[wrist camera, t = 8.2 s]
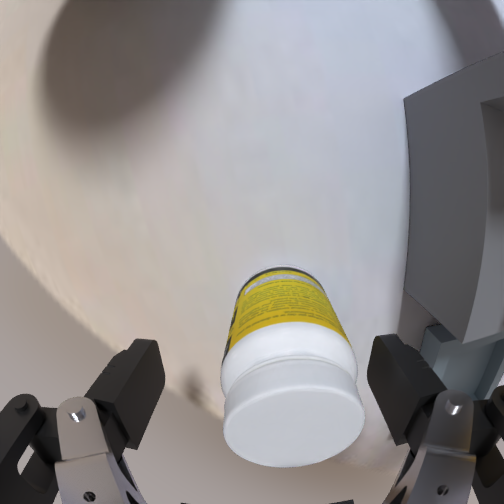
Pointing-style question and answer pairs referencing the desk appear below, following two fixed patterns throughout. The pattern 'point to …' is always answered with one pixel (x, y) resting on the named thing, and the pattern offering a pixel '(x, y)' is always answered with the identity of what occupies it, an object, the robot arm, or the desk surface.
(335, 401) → the supplement bottle
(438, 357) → the square tray
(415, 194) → the box
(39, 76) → the desk surface
